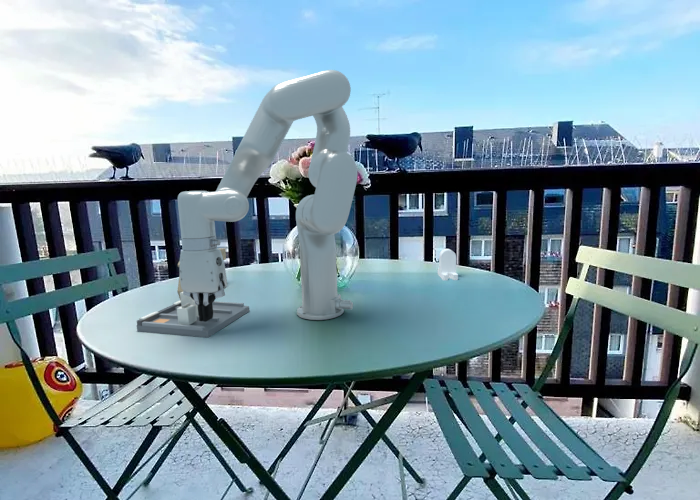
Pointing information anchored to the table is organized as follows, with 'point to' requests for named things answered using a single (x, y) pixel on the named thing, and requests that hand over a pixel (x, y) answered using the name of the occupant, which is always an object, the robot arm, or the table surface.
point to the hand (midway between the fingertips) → (206, 319)
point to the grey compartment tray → (168, 323)
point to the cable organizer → (447, 265)
